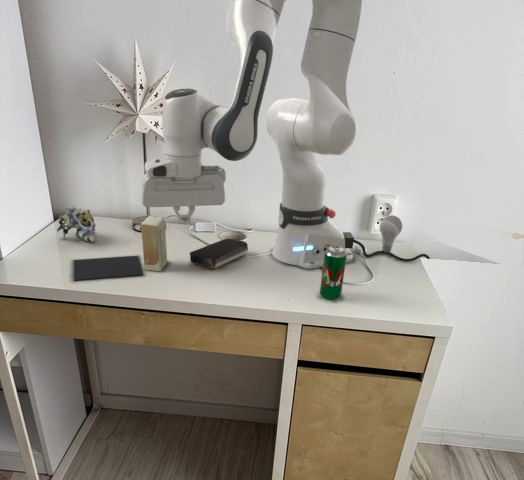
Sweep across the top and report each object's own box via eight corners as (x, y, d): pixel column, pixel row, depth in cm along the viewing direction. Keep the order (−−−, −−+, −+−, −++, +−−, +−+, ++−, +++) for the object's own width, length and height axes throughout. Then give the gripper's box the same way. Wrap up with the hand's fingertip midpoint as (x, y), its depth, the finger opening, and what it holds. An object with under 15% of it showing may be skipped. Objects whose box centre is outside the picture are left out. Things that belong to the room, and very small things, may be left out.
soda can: (338, 291, 126) (345, 245, 119) (342, 301, 122) (349, 253, 115) (318, 291, 126) (324, 244, 119) (320, 300, 121) (326, 252, 115)
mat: (137, 256, 138) (137, 255, 137) (142, 275, 128) (142, 274, 128) (74, 261, 133) (73, 260, 133) (74, 280, 124) (74, 279, 123)
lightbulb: (387, 259, 145) (395, 221, 139) (370, 252, 149) (377, 214, 143) (400, 254, 148) (408, 217, 142) (383, 247, 152) (390, 211, 146)
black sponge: (211, 273, 131) (211, 260, 129) (186, 264, 135) (186, 250, 133) (250, 255, 142) (251, 242, 140) (227, 247, 146) (227, 234, 144)
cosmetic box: (151, 260, 136) (148, 215, 129) (167, 262, 136) (165, 216, 129) (143, 270, 131) (139, 223, 124) (160, 272, 130) (157, 225, 124)
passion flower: (92, 259, 148) (88, 236, 137) (53, 251, 146) (46, 227, 135) (101, 227, 152) (98, 201, 141) (63, 218, 150) (57, 192, 139)
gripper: (222, 162, 127) (221, 217, 135) (138, 163, 121) (141, 220, 129) (229, 168, 122) (227, 225, 129) (140, 169, 116) (144, 229, 124)
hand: (184, 223), depth 129 cm, fingers closed
